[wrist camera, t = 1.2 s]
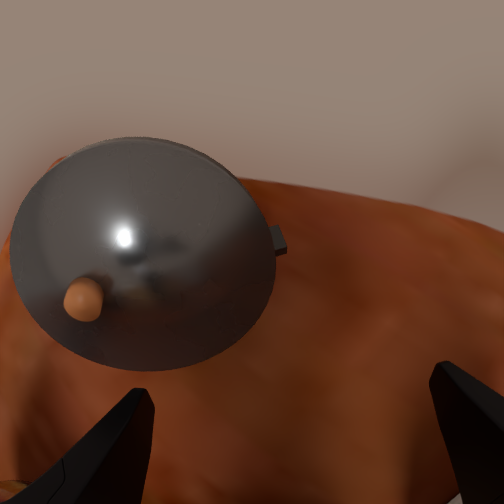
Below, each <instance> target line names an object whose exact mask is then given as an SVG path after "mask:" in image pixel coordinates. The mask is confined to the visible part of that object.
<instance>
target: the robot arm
mask: <svg viewBox="0 0 504 504" xmlns="http://www.w3.org/2000/svg"><path fill="white" fill-rule="evenodd" d="M429 387H430V391H431V395H432V399H433V403H434V407H435V411H436V415H437V419H438V423H439V426H440V429H441V432H442V435H443V438H444V441H445V444H446V447H447V450H448V453H449V457H450V460H451V463H452V466H453V470H454V473H455V477H456V480H457V484H458V487H459V491H460V495H461V499H462V503H463V504H504V397H503V396H501V395H500V394H498V393H497V392H495V391H494V390H492V389H491V388H489V387H488V386H486V385H485V384H483V383H482V382H480V381H479V380H477V379H476V378H474V377H473V376H471V375H470V374H468V373H467V372H465V371H464V370H462V369H461V368H459V367H457V366H456V365H454V364H453V363H451V362H450V361H442V362H439V363H437V364H436V365H435V368H434V370H433V372H432V375H431V377H430V380H429ZM154 414H155V407H154V403H153V401H152V399H151V397H150V395H149V393H148V391H147V390H146V389H144V388H133V389H132V390H130V391H129V392H128V393H127V394H126V395H125V396H124V397H123V398H122V399H121V400H120V401H119V402H118V403H117V404H116V405H115V406H114V407H113V408H112V409H111V410H110V411H109V412H108V413H107V414H106V415H105V416H104V417H103V418H102V419H101V420H100V421H99V422H98V423H97V424H96V425H95V426H94V427H93V428H92V429H90V430H89V431H88V432H87V433H86V434H85V435H84V436H83V437H82V438H81V439H80V440H79V441H78V442H77V443H76V444H75V445H74V446H73V447H72V448H71V449H70V450H69V451H68V452H67V453H66V454H65V455H63V458H60V459H59V460H58V461H57V462H56V463H55V464H54V465H53V466H52V467H51V468H49V469H48V470H47V471H46V472H45V473H44V474H43V475H41V476H40V477H39V478H37V479H36V480H35V481H34V482H32V483H31V484H30V485H28V486H27V487H25V488H24V489H23V490H21V491H20V492H18V493H17V494H16V495H14V496H13V497H11V498H10V499H8V500H6V501H3V502H0V504H141V500H142V494H143V489H144V484H145V479H146V474H147V469H148V464H149V459H150V454H151V446H152V434H153V424H154Z"/></svg>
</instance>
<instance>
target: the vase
mask: <svg viewBox="0 0 504 504" xmlns="http://www.w3.org/2000/svg"><path fill="white" fill-rule="evenodd" d="M31 483H32V482H27V481H20V480H6V481H0V502H3V501H6V500H8V499H10V498H11V497H13V496H14V495H16V494H17V493H18V492H20V491H21V490H23V489H24V488H25V487H27V486H28V485H30V484H31Z"/></svg>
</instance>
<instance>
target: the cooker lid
mask: <svg viewBox="0 0 504 504" xmlns="http://www.w3.org/2000/svg"><path fill="white" fill-rule="evenodd" d="M10 265H11V270H12V275H13V279H14V282H15V285H16V288H17V291H18V293H19V295H20V297H21V299H22V301H23V303H24V305H25V307H26V308H27V310H28V311H29V313H30V314H31V316H32V317H33V318H34V320H35V321H36V322H37V323H38V324H39V325H40V327H41V328H42V329H43V330H44V331H45V332H46V333H48V334H49V335H50V336H51V337H52V338H53V339H54V340H56V341H57V342H58V343H60V344H61V345H62V346H64V347H66V348H67V349H69V350H70V351H72V352H74V353H76V354H78V355H80V356H82V357H84V358H86V359H88V360H91V361H93V362H96V363H99V364H102V365H106V366H109V367H113V368H118V369H124V370H132V371H164V370H172V369H177V368H183V367H186V366H190V365H193V364H196V363H199V362H202V361H204V360H207V359H209V358H211V357H213V356H215V355H217V354H219V353H221V352H223V351H224V350H226V349H227V348H229V347H230V346H232V345H233V344H234V343H236V342H237V341H238V340H239V339H241V338H242V337H243V336H244V335H245V334H246V333H247V332H248V331H249V330H250V329H251V328H252V326H253V325H254V324H255V323H256V321H257V320H258V319H259V317H260V316H261V314H262V312H263V310H264V309H265V307H266V305H267V303H268V300H269V298H270V295H271V293H272V289H273V285H274V280H275V271H276V258H275V248H274V244H273V240H272V236H271V232H270V230H269V228H268V225H267V223H266V221H265V218H264V216H263V215H262V213H261V211H260V209H259V208H258V206H257V204H256V203H255V201H254V200H253V198H252V196H251V195H250V193H249V192H248V190H247V189H246V188H245V187H244V186H243V185H242V183H241V182H240V181H239V180H238V179H237V178H236V177H235V176H234V175H233V174H232V173H231V172H230V171H228V170H227V169H226V168H225V167H224V166H223V165H221V164H220V163H218V162H217V161H215V160H214V159H212V158H210V157H209V156H207V155H206V154H204V153H202V152H199V151H197V150H195V149H193V148H190V147H188V146H186V145H183V144H179V143H176V142H172V141H169V140H164V139H157V138H150V137H122V138H116V139H109V140H104V141H101V142H98V143H95V144H92V145H88V146H86V147H84V148H82V149H80V150H78V151H76V152H74V153H72V154H70V155H68V156H67V157H65V158H64V159H63V160H61V161H60V162H59V163H57V164H56V165H55V166H53V167H52V168H51V169H50V170H49V171H48V172H47V173H46V174H45V175H44V176H43V177H42V178H41V179H40V180H39V181H38V182H37V183H36V184H35V185H34V186H33V187H32V188H31V190H30V191H29V193H28V195H27V196H26V197H25V199H24V200H23V202H22V204H21V206H20V208H19V210H18V213H17V215H16V217H15V221H14V224H13V228H12V232H11V238H10Z"/></svg>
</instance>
